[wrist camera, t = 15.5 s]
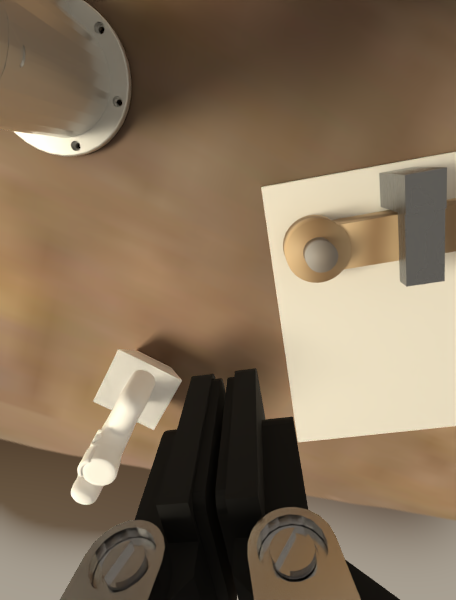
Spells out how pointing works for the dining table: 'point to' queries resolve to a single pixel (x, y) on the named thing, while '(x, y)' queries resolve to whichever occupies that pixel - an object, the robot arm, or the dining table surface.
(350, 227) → the oak link
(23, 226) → the dining table surface
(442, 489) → the dining table surface
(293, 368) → the pivot board
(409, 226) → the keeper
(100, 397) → the figurine
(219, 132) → the dining table surface
